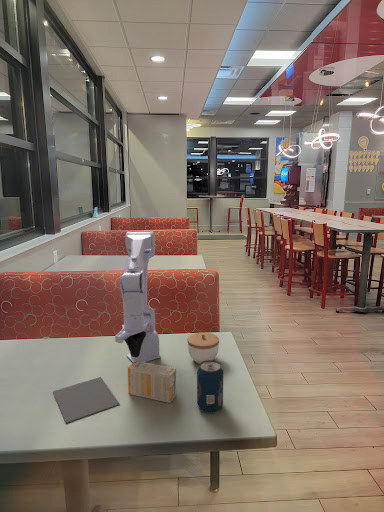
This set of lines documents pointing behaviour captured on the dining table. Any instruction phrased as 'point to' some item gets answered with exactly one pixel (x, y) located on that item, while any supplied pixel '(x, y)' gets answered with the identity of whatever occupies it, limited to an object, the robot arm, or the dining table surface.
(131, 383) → the supplement box
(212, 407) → the soda can
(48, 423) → the dining table surface
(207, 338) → the lidded jar
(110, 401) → the mat
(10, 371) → the dining table surface
